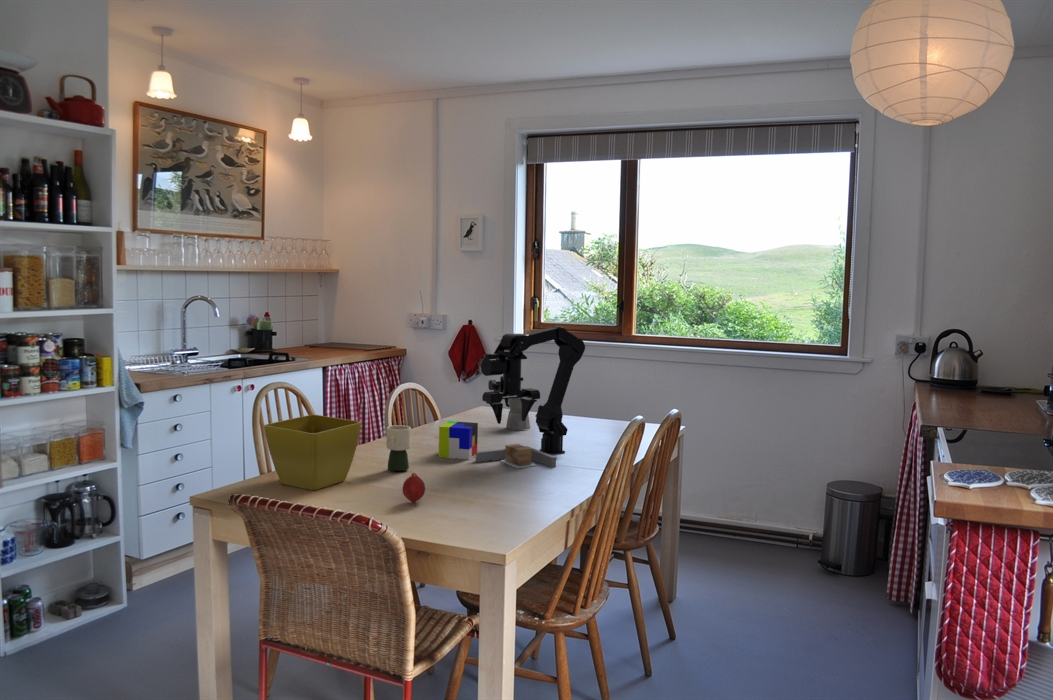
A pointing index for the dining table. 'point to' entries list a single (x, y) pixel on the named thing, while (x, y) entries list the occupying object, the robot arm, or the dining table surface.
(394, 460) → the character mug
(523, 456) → the walnut block
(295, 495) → the dining table surface
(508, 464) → the mat
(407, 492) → the onion
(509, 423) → the coffeepot
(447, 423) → the puzzle toy
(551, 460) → the grey angle bracket
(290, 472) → the flower pot
